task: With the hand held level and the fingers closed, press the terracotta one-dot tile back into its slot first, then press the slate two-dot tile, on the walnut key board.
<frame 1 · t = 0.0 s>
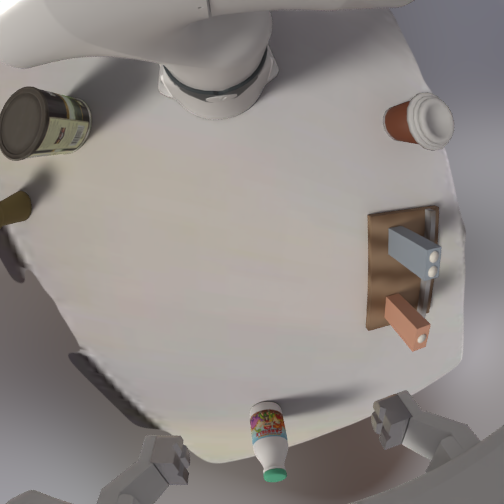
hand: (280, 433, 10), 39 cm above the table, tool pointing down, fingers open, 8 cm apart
pepper mill: (21, 205, 42), on the table
tile one: (405, 320, 47), point 8 cm above the table, slide at 0.0 cm
tile two: (412, 251, 42), point 8 cm above the table, slide at 0.0 cm
coffee cup: (397, 123, 43), on the table
key board: (402, 268, 52), on the table
milk bottle: (265, 409, 63), on the table
coffee can: (68, 126, 39), on the table
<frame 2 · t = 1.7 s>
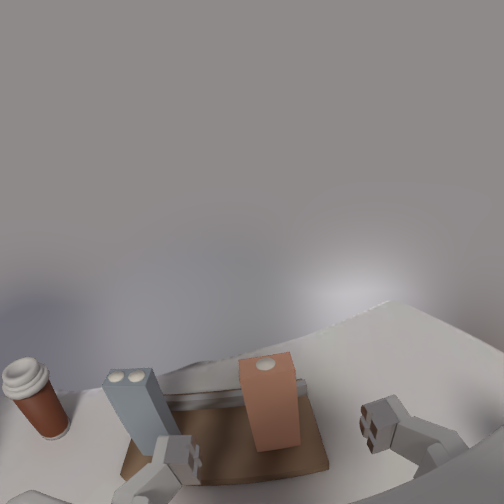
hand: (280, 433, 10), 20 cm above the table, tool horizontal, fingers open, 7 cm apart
tile one: (272, 407, 27), point 8 cm above the table, slide at 0.0 cm
tile two: (145, 416, 27), point 8 cm above the table, slide at 0.0 cm
coffee cup: (55, 428, 31), on the table
key board: (221, 436, 31), on the table
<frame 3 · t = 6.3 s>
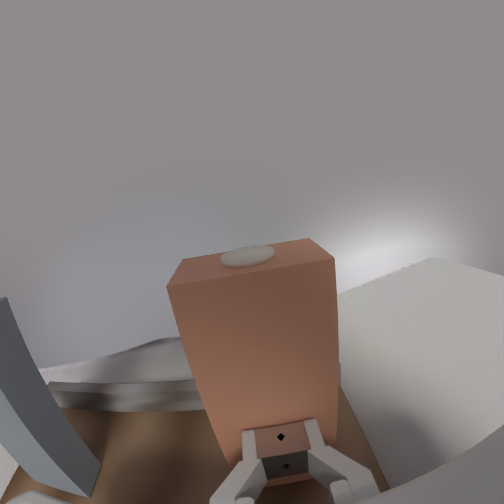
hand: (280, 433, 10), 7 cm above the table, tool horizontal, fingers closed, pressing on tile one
tile one: (270, 391, 11), point 8 cm above the table, slide at 1.4 cm, touching gripper
tile two: (14, 408, 10), point 8 cm above the table, slide at 0.0 cm
key board: (175, 465, 14), on the table
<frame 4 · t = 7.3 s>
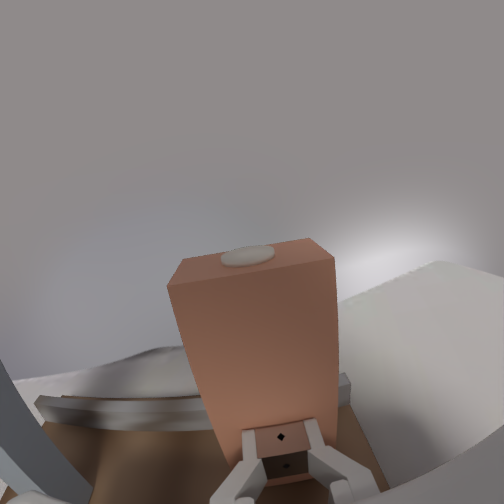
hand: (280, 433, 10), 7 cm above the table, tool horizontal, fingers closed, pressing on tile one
tile one: (270, 391, 11), point 8 cm above the table, slide at 3.5 cm, touching gripper
key board: (172, 489, 12), on the table
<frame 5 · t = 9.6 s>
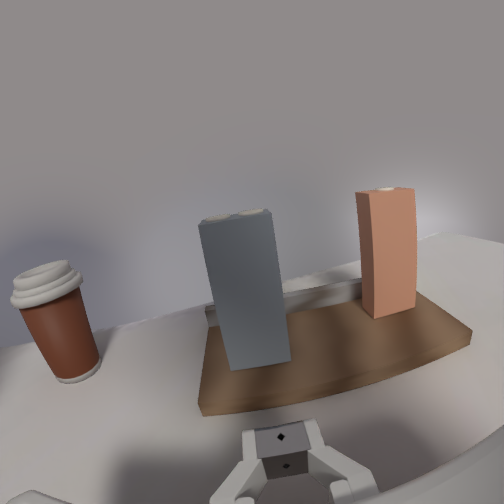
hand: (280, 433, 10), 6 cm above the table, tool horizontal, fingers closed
tile one: (388, 251, 26), point 8 cm above the table, slide at 3.5 cm
tile two: (247, 292, 22), point 8 cm above the table, slide at 0.0 cm
coffee cup: (78, 369, 27), on the table
key board: (329, 338, 27), on the table
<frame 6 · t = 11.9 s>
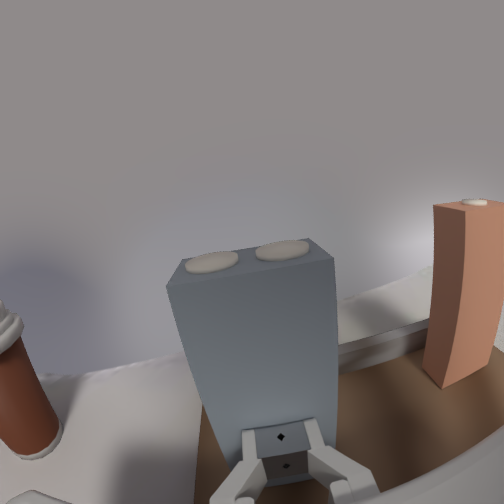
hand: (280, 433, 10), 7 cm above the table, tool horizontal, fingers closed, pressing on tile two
tile one: (470, 293, 15), point 8 cm above the table, slide at 3.5 cm
tile two: (270, 391, 11), point 8 cm above the table, slide at 0.2 cm, touching gripper
coffee cup: (36, 437, 15), on the table
key board: (378, 417, 16), on the table
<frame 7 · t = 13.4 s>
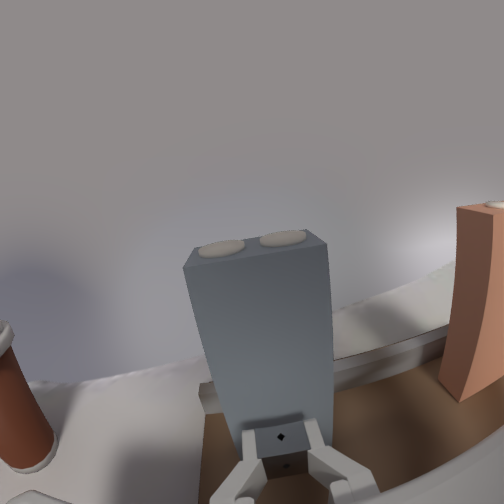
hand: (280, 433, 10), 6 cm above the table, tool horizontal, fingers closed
tile one: (491, 302, 13), point 8 cm above the table, slide at 3.5 cm
tile two: (272, 368, 13), point 8 cm above the table, slide at 3.5 cm
coffee cup: (31, 449, 14), on the table
key board: (392, 433, 14), on the table
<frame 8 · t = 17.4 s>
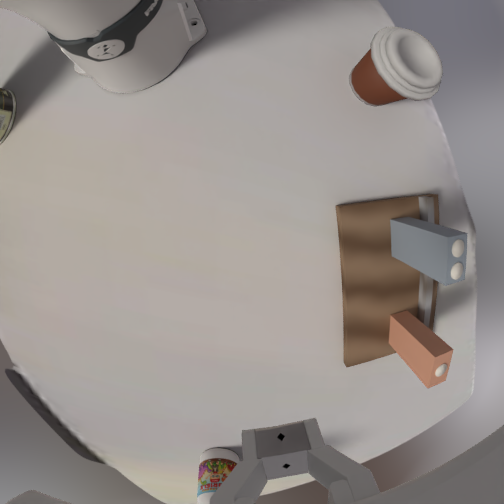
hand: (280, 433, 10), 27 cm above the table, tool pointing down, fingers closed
tile one: (417, 346, 33), point 8 cm above the table, slide at 3.5 cm
tile two: (425, 246, 29), point 8 cm above the table, slide at 3.5 cm
coffee cup: (370, 85, 32), on the table
key board: (391, 281, 38), on the table
milk bottle: (219, 456, 46), on the table
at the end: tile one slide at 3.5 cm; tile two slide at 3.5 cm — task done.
